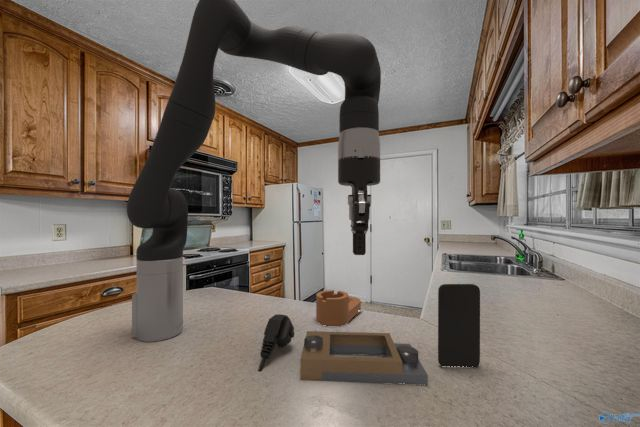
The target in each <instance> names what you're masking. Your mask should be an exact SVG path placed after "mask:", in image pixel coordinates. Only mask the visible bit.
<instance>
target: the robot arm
mask: <svg viewBox="0 0 640 427" xmlns="http://www.w3.org/2000/svg"><path fill="white" fill-rule="evenodd" d="M189 28H190V29H189V31H188V37H187V41H186V45H185V49H184V53H183V57H182V61H181V63H180V66H179V70H178V72H177V76H176V78H175V82H174V85H173V87H172V90H171V93H170V95H169V98H168V101H167V103H166V104H165V108H164V112H163V115H162V117H161V121H160V124H159V127H158V130H157V133H156V135H155V138H154V141H153V143H152V145H151V148H150V150H149V153H148V156H147V158H146V161H145V162H144V164H143V167H142V168H141V171H140V172H139V175H138V177H137V178H136V180H135V182H134V184H133V187H132V189H131V191H130V194H129V195H128V200H127V204H126V213H127V218H128V220H129V222H130V223H131V224H132V225H133V226H134V227H136V228H139V229H152V232H151V235H150V237H149V238H148V239H147V240H146V241H145V242H143V243H141V244H140V245H138V246H137V248H136V257H135V258H136V291H135V292H134V293H133V294H132V295H131V339H136V340H138V341H140V342H143V343H144V342H147V343H150V342H151V343H152V342H153V343H154V342H158V341H159V342H160V341H165V340H169V339H171V338H174V337H176V336H178V335H181V333H182V332H183V330H184V248H185V247H186V243H187V239H188V225H189V224H188V221H189V206H188V201H187V199H186V196H185V195H184V193H183V192H181V191H180V190H178V189H176V188H171V186H172V184H173V181H174V178H175V176H176V175H177V173H178V171H179V170H180V168H181V167H182V166H183V165H184V164H185V163H186V162H187V161H188V160H189V159H190V158H192V156H193V155H194V154H196V152H197V151H198V150H199V149H200V147H201V148H202V145H203V144H204V143H205V142H206V141H205V140H207V137H208V134H209V132H210V129H211V127H212V124H213V121H214V119H215V115H216V93H215V83H214V82H215V81H214V71H215V70H214V67H215V63H216V58H217V55H218V52H219V50H220V51H222V52H223V53H224V54H227V55H230V56H234V57H240V58H249V59H251V58H252V59H257V60H264V61H269V62H274V63H278V64H281V65H285V66H288V67H292V68H294V69H296V70H299V71H301V72H302V71H303V72H305V73H309V74H312V75H316V76H325V75H327V74H328V73H331V74H336V75H337V76H340V78H341V79H342V80H343V82H344V100H343V101H342V102H341V104H340V108H339V123H338V124H339V126H338V127H339V137H338V146H337V174H338V175H337V181H338V182H337V183H338V184H339V186H344V187H351V194H348V195H347V205H348V212H349V213H348V217H349V219H348V220H350V223H351V224H350V229H351V230H350V231H351V234H352V254H353V255H355V256H364V255H366V253H367V251H366V244H367V243H366V235H367V232H368V230H369V220H370V219H371V213H370V212H371V209H370V208H371V207H372V206H371V205H372V194H368V186H370V187H371V186H377V185H379V184H380V183H381V140H380V139H381V138H380V132H379V131H380V129H379V128H380V126H379V125H380V115H379V114H380V113H379V101H380V93H381V85H382V83H381V81H382V79H381V76H382V75H381V74H382V73H381V71H382V70H381V64H380V61H379V58H378V54H377V51H376V48H375V46H374V44H373V43H372V42H371V41H370V40H369V39H368V38H366V37H364V36H362V35H359V34H357V33H349V32H348V33H347V32H345V33H341V32H340V33H336V32H335V33H323V32H321V31H316V30H313V29H310V28H306V27H301V26H297V25H296V26H295V25H288V26H284V27H280V28H277V29H270V28H269V29H268V28H265V27H262V26H261V25H259V24H257V23H255V22H254V21H252V20H250V18H249V17H248V15H247V14H246V12H245V11H244V10H243V9H242V8H241V6H240V5H239V4H238V2H236V0H198V2H197V5H196V7H195V9H194V13H193V16H192V20H191V23H190V27H189Z"/></svg>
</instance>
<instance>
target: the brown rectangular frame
mask: <svg viewBox="0 0 640 427" xmlns="http://www.w3.org/2000/svg"><path fill="white" fill-rule="evenodd" d="M394 343H395V342H394V340H393V338H392V336H391V334H390V333H389V332H358V331H357V332H355V331H320V330H319V331H317V330H315V331H313V330H312V331H311V330H306V334H305V337H304V340H303V347H302V351H301V354H300V362H299V363H300V365H299V367H300V369H299V371H300V374H299V378H300V381H311V382H312V381H315V382H316V381H317V382H318V381H319V382H323V381H322V372H340V373H372V374H402V360H401V358H400V356H399V353H398V351H397V349H396V347H395V344H394ZM330 344H332V345H370V346H385V349H386V352H387V354H388V357H389V358H385V357H378V356H377V357H374V356H373V357H370V356H368V357H367V356H342V355H341V356H339V355H338V356H337V355H331V354H330Z"/></svg>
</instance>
